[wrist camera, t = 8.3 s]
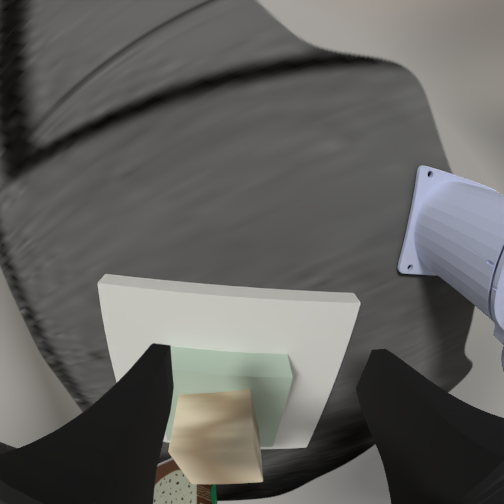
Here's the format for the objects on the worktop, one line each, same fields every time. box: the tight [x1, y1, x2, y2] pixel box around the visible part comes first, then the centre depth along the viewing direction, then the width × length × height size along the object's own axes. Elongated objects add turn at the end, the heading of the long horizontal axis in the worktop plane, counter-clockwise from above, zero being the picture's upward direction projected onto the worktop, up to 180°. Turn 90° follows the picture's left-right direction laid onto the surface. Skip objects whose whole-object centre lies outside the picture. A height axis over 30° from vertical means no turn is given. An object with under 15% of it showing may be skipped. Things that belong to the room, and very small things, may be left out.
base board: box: [98, 274, 361, 449], centre depth 21 cm, size 18×18×4 cm
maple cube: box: [168, 389, 263, 484], centre depth 17 cm, size 5×5×5 cm
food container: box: [153, 458, 217, 504], centre depth 24 cm, size 12×6×10 cm, turn 136°
